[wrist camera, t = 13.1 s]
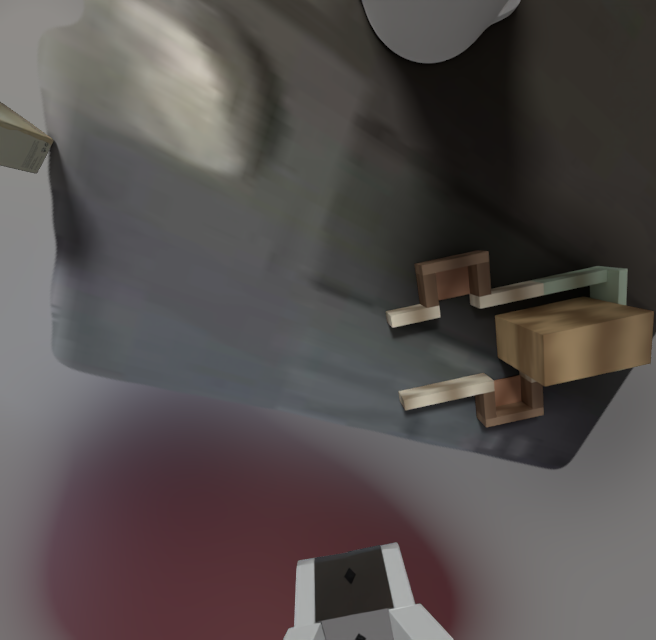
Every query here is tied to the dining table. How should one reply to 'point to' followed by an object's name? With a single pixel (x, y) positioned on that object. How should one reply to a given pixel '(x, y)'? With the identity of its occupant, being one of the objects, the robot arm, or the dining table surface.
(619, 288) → the end wall
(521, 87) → the dining table surface
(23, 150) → the skincare box
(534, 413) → the lane
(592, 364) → the block
